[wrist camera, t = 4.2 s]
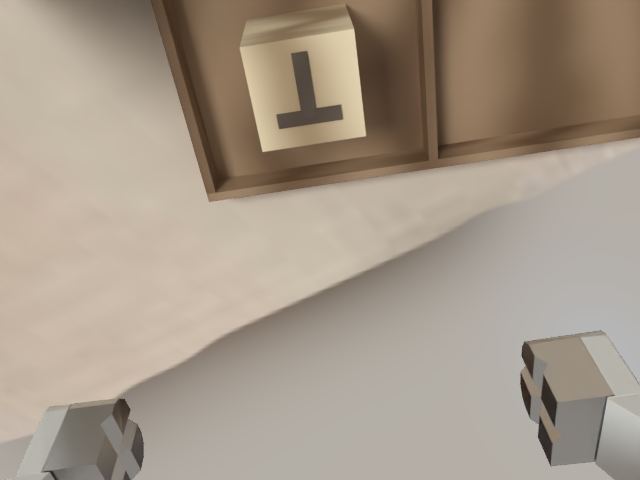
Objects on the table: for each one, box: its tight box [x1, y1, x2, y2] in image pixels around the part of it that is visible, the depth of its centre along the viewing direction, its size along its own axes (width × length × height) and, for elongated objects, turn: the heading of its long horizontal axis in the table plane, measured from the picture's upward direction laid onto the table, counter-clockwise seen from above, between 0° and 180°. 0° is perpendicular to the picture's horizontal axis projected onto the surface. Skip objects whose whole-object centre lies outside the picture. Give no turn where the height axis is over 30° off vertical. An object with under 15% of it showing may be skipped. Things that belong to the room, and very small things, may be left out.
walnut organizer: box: [151, 0, 640, 202], centre depth 30 cm, size 26×13×2 cm, turn 98°
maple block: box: [240, 4, 366, 152], centre depth 29 cm, size 5×5×5 cm
